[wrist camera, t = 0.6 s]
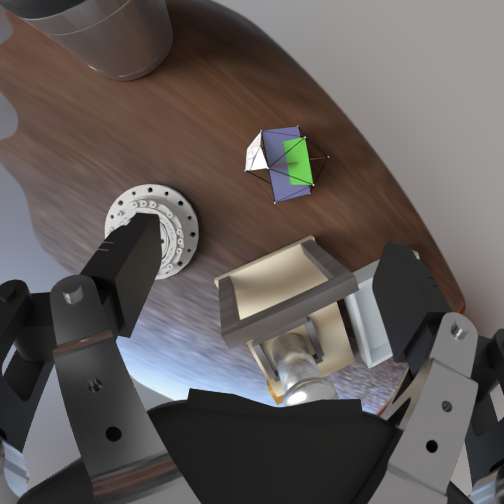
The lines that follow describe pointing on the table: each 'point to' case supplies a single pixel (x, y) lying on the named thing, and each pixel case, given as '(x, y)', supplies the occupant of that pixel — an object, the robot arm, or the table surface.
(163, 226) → the mechanical component
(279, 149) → the geometric puzzle
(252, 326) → the dolly
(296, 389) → the pin
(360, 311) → the tray
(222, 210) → the table surface
